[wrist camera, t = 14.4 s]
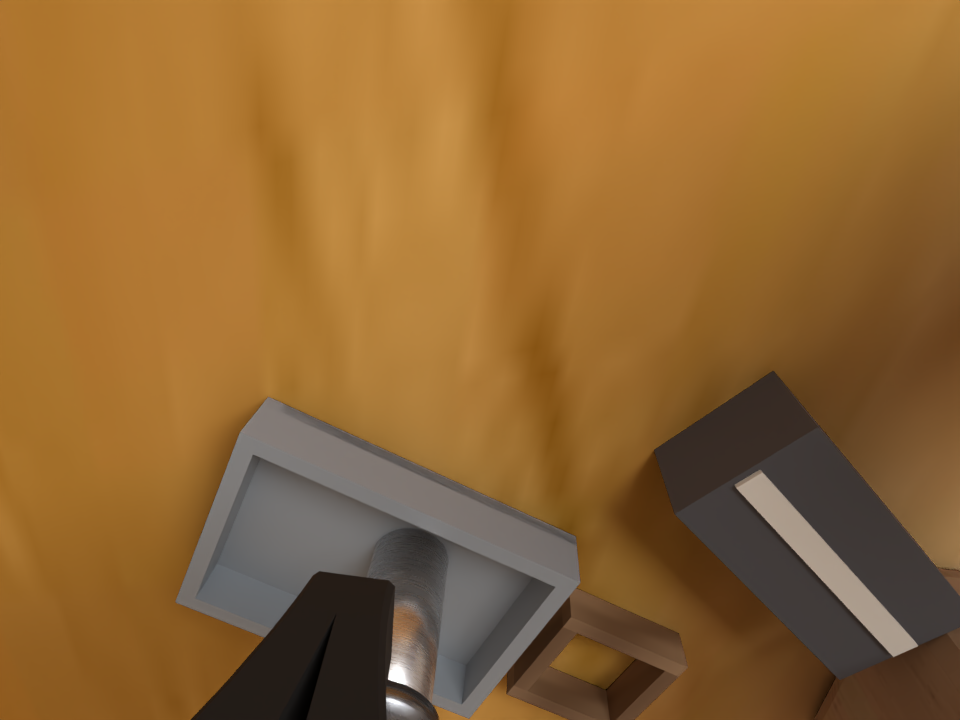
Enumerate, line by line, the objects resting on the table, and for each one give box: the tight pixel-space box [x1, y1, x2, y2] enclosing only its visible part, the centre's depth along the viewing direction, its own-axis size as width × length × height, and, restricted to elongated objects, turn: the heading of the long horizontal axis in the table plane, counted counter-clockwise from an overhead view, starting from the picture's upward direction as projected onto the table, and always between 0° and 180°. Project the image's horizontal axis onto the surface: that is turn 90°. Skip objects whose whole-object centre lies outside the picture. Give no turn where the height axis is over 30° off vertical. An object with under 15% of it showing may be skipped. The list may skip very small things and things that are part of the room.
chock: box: [654, 371, 960, 680], centre depth 19 cm, size 9×4×4 cm, turn 43°
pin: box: [367, 528, 449, 720], centre depth 19 cm, size 3×3×7 cm
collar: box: [507, 588, 688, 720], centre depth 24 cm, size 5×5×2 cm
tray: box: [176, 397, 580, 718], centre depth 22 cm, size 12×8×2 cm
